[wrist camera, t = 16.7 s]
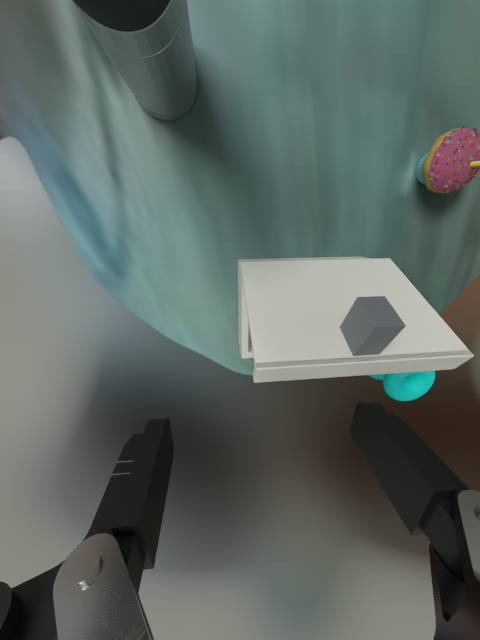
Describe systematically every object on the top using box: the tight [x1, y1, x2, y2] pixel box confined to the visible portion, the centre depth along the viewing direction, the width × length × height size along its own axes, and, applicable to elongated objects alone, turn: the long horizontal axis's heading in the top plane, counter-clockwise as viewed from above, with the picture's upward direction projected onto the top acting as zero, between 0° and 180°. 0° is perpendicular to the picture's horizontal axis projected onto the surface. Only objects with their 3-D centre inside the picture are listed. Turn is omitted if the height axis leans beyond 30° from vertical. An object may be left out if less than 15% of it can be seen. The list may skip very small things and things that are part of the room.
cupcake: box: [416, 127, 480, 193], centre depth 34 cm, size 9×8×12 cm
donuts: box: [369, 370, 435, 401], centre depth 50 cm, size 10×10×10 cm
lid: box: [240, 258, 474, 383], centre depth 30 cm, size 18×24×8 cm
